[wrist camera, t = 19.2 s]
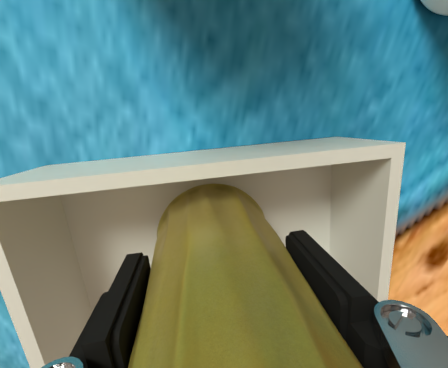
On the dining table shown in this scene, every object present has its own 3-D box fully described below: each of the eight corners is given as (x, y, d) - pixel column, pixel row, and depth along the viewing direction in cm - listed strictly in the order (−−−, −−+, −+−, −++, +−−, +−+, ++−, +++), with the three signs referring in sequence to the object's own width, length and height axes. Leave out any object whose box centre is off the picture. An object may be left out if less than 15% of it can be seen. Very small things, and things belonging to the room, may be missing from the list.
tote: (336, 136, 15) (405, 142, 10) (328, 339, 19) (374, 412, 14) (46, 165, 13) (-39, 189, 8) (107, 382, 17) (75, 482, 12)
